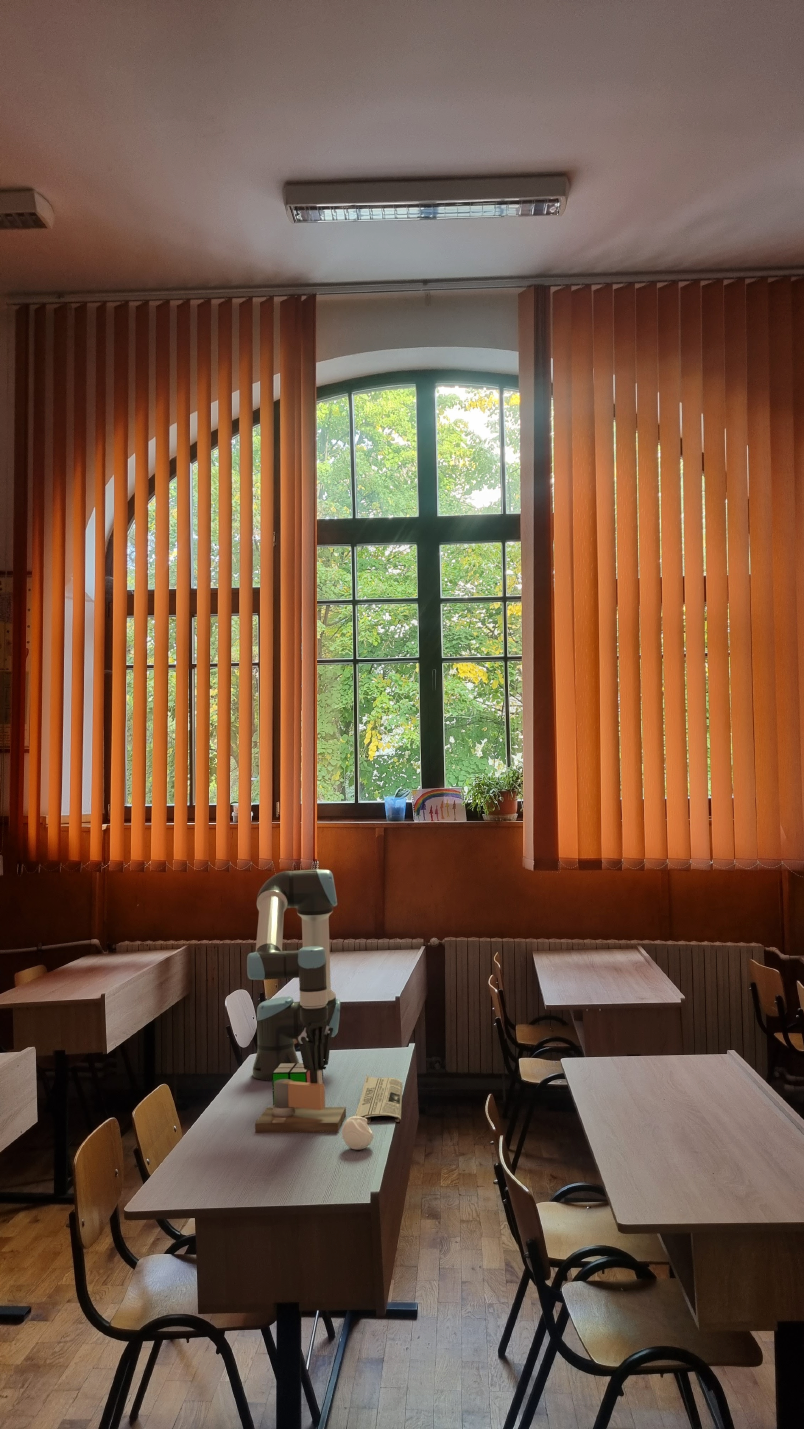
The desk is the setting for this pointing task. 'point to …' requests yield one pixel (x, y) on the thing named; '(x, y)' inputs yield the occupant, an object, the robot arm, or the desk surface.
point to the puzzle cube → (290, 1074)
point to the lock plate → (300, 1120)
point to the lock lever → (299, 1094)
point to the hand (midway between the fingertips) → (317, 1094)
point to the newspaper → (380, 1098)
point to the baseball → (357, 1133)
